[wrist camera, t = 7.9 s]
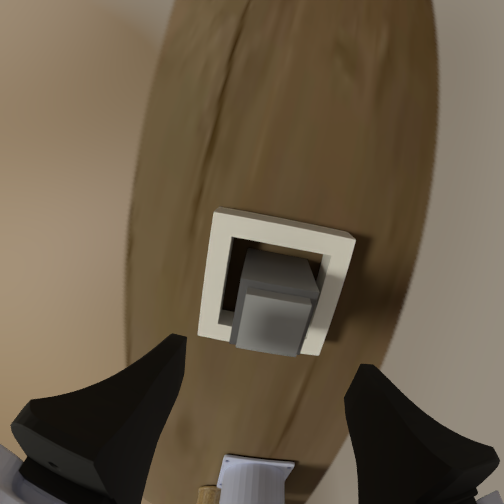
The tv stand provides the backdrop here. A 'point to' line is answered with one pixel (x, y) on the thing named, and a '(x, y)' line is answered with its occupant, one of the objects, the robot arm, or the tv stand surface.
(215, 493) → the sprinkles bottle
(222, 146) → the tv stand surface
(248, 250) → the stepped grey plug block
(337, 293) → the socket block
